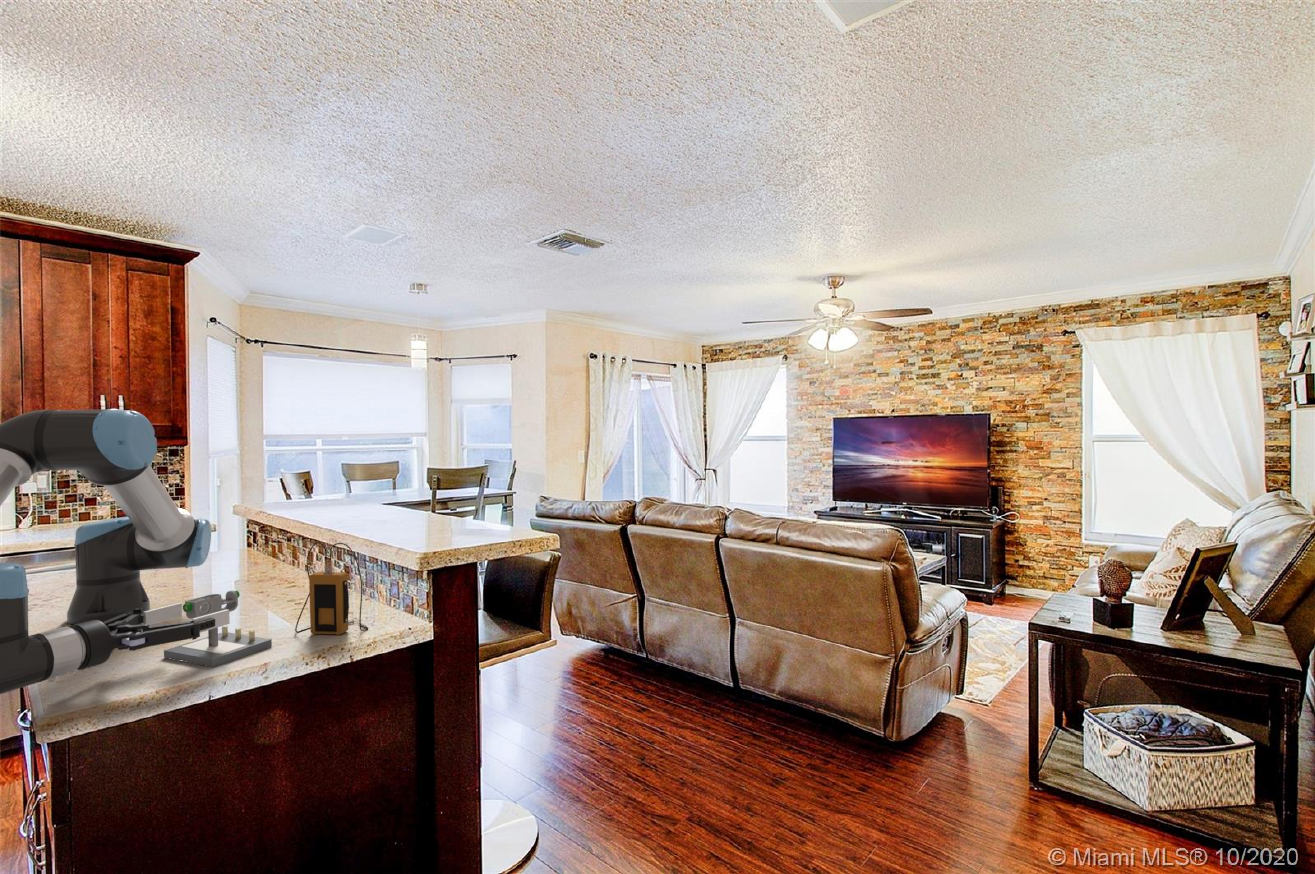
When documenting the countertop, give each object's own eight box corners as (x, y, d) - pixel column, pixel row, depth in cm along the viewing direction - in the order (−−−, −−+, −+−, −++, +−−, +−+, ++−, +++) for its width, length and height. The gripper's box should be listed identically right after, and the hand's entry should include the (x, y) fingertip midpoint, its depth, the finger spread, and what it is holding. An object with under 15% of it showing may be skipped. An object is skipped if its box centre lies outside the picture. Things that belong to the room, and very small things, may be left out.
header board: (163, 657, 126) (163, 640, 126) (224, 638, 137) (224, 622, 137) (212, 667, 121) (212, 648, 121) (271, 646, 132) (271, 629, 132)
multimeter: (382, 621, 148) (380, 535, 148) (357, 636, 138) (356, 543, 138) (321, 620, 150) (320, 534, 149) (293, 634, 140) (291, 542, 139)
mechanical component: (243, 638, 132) (241, 589, 132) (192, 655, 123) (190, 603, 122) (232, 636, 133) (231, 588, 133) (181, 653, 124) (180, 602, 123)
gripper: (29, 661, 111) (162, 625, 130) (121, 681, 102) (249, 639, 121) (27, 618, 110) (161, 588, 130) (120, 633, 101) (248, 599, 121)
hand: (204, 612), depth 126 cm, fingers open, 13 cm apart
